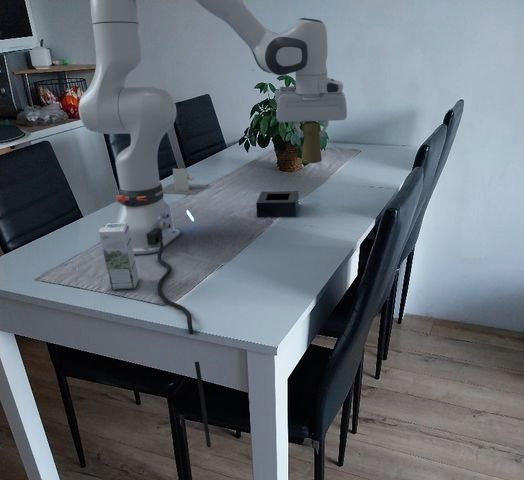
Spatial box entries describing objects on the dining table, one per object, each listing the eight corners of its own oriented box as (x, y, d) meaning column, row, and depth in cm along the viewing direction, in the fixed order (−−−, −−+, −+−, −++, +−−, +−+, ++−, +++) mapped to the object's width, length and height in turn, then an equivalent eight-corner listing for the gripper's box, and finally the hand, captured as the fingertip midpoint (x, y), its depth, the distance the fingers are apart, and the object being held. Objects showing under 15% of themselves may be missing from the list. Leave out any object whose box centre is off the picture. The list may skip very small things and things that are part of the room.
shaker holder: (295, 216, 165) (295, 202, 163) (257, 217, 167) (256, 202, 164) (298, 204, 175) (298, 190, 173) (262, 205, 177) (261, 191, 174)
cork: (321, 157, 165) (321, 118, 159) (321, 162, 160) (322, 123, 154) (301, 157, 166) (301, 119, 160) (301, 163, 161) (300, 124, 155)
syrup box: (139, 279, 132) (128, 221, 124) (135, 289, 127) (123, 229, 119) (115, 280, 132) (103, 222, 124) (110, 291, 127) (97, 231, 119)
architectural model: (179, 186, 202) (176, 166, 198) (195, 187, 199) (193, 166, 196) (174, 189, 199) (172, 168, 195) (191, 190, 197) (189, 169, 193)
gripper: (273, 88, 150) (275, 140, 158) (347, 85, 148) (346, 138, 155) (275, 85, 156) (277, 136, 163) (347, 82, 153) (346, 133, 161)
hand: (311, 137), depth 159 cm, fingers closed on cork, 5 cm apart
